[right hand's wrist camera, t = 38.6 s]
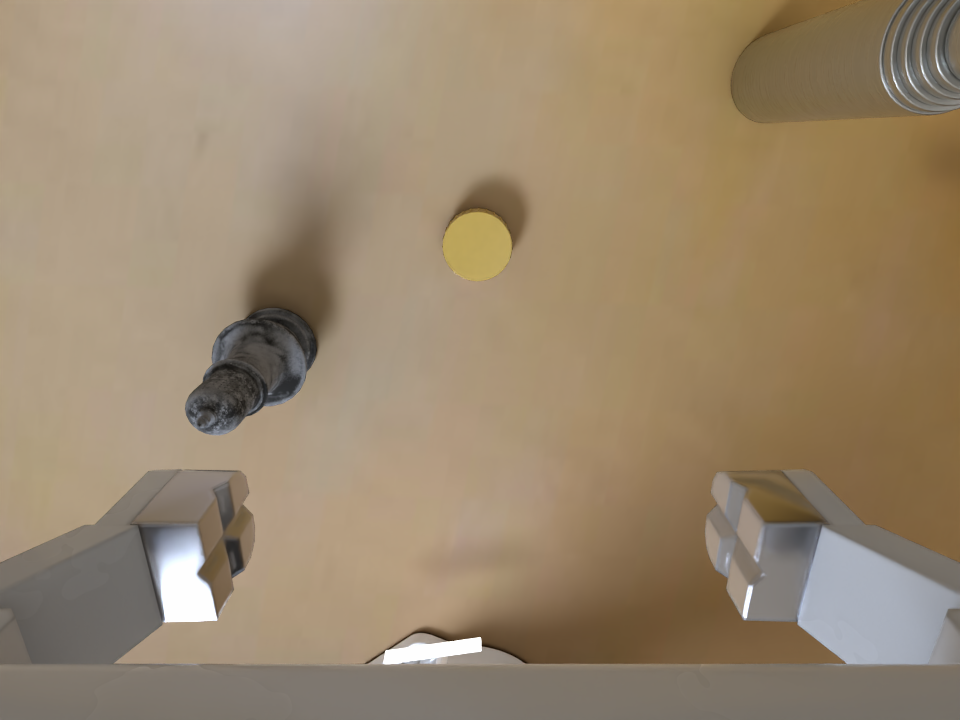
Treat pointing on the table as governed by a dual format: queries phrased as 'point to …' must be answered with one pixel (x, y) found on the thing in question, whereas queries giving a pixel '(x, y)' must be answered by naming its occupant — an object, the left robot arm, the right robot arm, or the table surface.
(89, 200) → the table surface
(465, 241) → the cap
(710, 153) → the table surface
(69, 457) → the table surface
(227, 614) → the table surface
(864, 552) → the right robot arm
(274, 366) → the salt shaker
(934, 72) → the bottle
